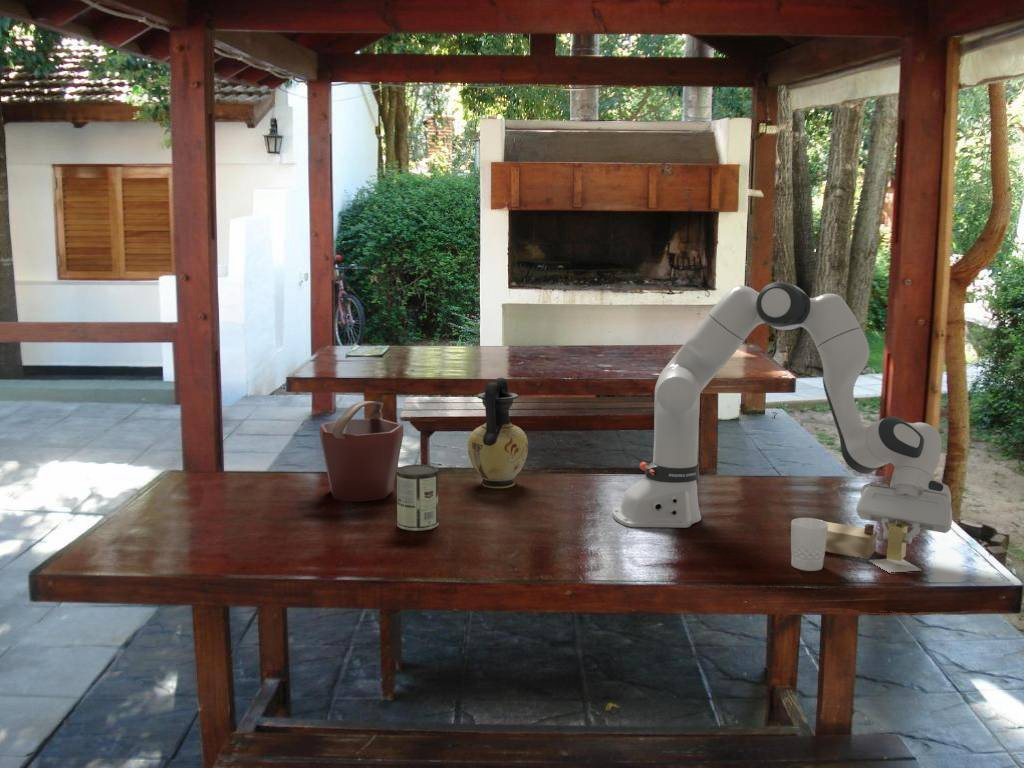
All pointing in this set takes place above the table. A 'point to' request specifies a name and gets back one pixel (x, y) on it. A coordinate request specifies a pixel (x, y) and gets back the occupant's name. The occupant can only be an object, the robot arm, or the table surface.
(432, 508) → the coffee can
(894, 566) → the mat
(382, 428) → the bucket
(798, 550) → the white cup
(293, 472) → the table surface
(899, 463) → the robot arm
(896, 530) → the brass knob block
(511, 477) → the amphora
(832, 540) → the body
